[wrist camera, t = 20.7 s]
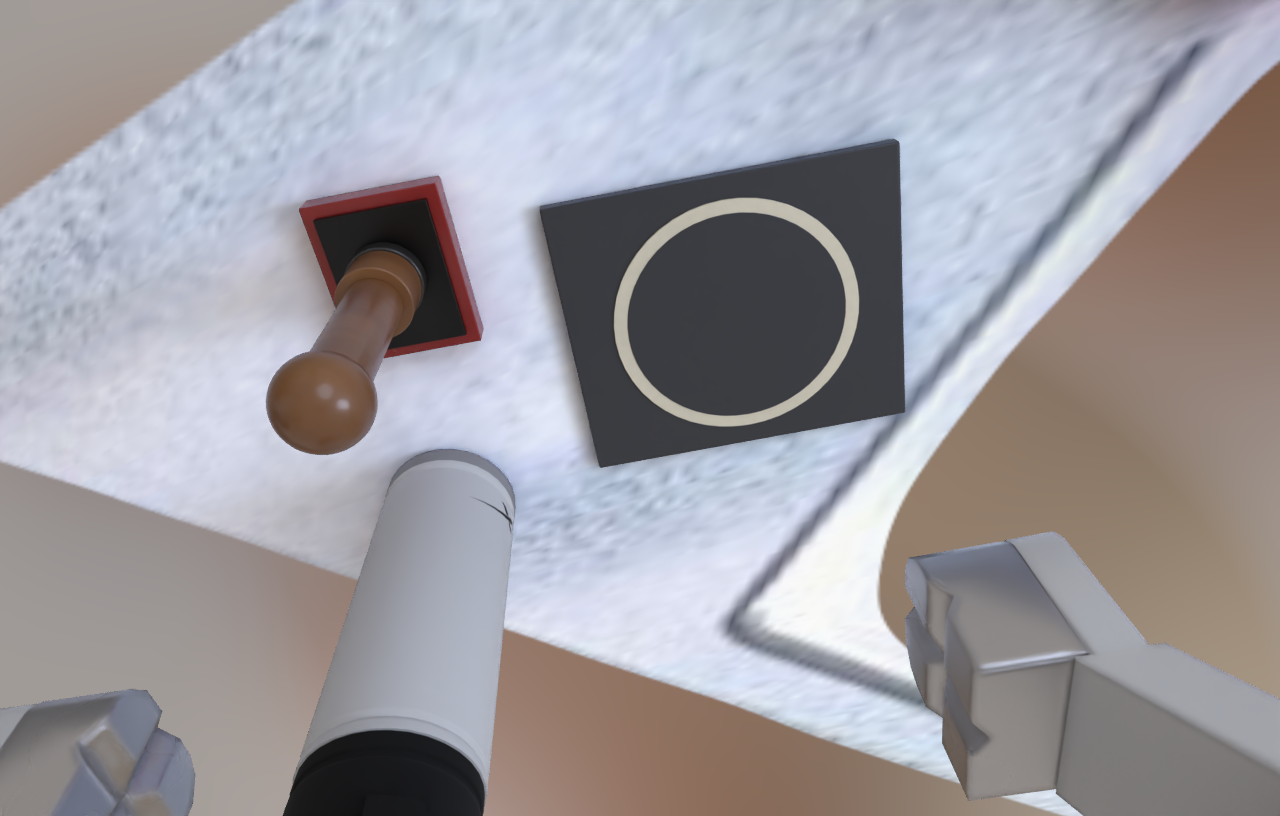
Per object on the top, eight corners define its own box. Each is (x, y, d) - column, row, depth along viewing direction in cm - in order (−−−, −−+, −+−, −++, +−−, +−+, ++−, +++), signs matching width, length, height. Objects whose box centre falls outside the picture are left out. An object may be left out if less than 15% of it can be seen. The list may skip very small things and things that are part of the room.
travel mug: (532, 458, 42) (503, 834, 25) (498, 560, 45) (451, 962, 28) (403, 426, 41) (277, 800, 23) (377, 534, 44) (247, 938, 26)
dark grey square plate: (539, 205, 36) (539, 210, 35) (895, 138, 36) (901, 142, 35) (599, 461, 42) (599, 469, 42) (901, 406, 42) (906, 414, 41)
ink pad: (305, 200, 35) (295, 211, 34) (439, 175, 35) (434, 184, 34) (361, 352, 39) (354, 367, 37) (483, 329, 39) (480, 343, 37)
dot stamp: (337, 249, 35) (233, 391, 24) (414, 234, 35) (344, 370, 24) (362, 320, 36) (276, 483, 26) (436, 307, 36) (380, 464, 26)
